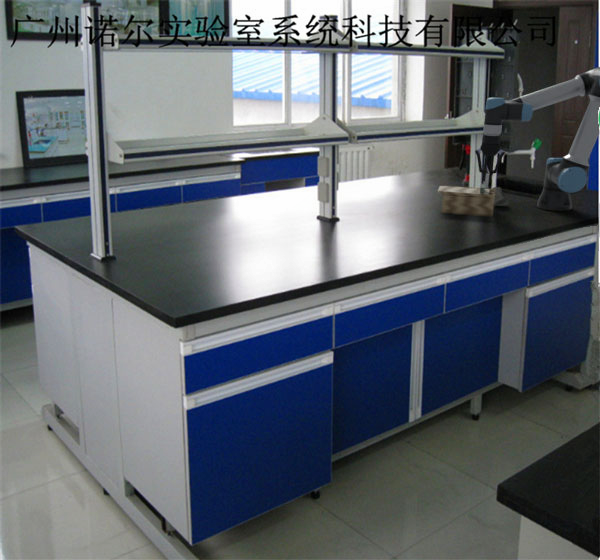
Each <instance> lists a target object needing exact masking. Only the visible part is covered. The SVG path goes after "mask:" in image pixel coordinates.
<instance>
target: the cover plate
mask: <svg viewBox="0 0 600 560" xmlns="http://www.w3.org/2000/svg"><path fill="white" fill-rule="evenodd" d="M448 186H449V185H439V188H438V189H437V192H436V193H437V194H439V195H443V191H446V192H460V193H474V194H488V195H489V190H490V189H491V188H488V189H484V187H485V183H481V184H480V187H479V188H480V189H477V188H478V187H472V188H463V187H464V186H457V187H448Z"/></svg>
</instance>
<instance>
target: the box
mask: <svg viewBox="0 0 600 560" xmlns="http://www.w3.org/2000/svg"><path fill="white" fill-rule="evenodd" d="M447 186H448V187H458V186H455V185H447ZM462 187H463V188H473V187H470V186H462ZM476 188H477V189H480V188H481V187H476ZM489 189H490V190H489V195H488V194H474V193H460V192H446V191H443V194H442V201H441V214H450V213H452V215H464V216H475V217H476V216H477V217H491V218H493V216H494V207H495V206H494V199H495V193H493V192H495V189H491V188H489Z"/></svg>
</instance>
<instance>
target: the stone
mask: <svg viewBox="0 0 600 560" xmlns="http://www.w3.org/2000/svg"><path fill="white" fill-rule="evenodd" d="M490 189H495V192H493V193H495V199H494V207H506V206H507V205H508V204H509V203H510V202H509V200H508V197H507V196H506V193H504V192H503V190H502V187H501V186H499V187H498V186H494V187H491V188H490Z"/></svg>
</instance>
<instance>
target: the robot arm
mask: <svg viewBox="0 0 600 560" xmlns="http://www.w3.org/2000/svg"><path fill="white" fill-rule="evenodd" d="M578 96H580V97H585V96H588V97H589V102H588V103H589V104H588V105H587V108H586V110H585V112H584V115H583V118H582V120H581V123H580V124H579V126H578V129H577V131H576V134H575V137H574V139H573V142H572V144H571V146H570V149H569V151H568V153H567V154H566V155H564V156H563V157H549V158H547V159H546V164H545V169H544V171H545V172H544V179H543V187H542V188H543V189H542V191H541V194H540V195H539V198H538V200H537V201H536V202H537V204H536V207H537V208H539V209H543V210H548V211H554V212H567V211H571V210H572V208H573V203H572V198H571V197H572V196H571V194H573V193H574V194H575V193H576V192H579V191H582V189H583V188H585V186H586V184H587V182H588V174H587V172H588V170H589V167H590V164H589V159H590V156H591V153H592V151H593V149H594V146H595V144H596V142H597V140H598V137H599V135H600V133H599V124H598V110H599V107H600V66H598V67H595V68H592V69H589V70H587V71H585V72H583V73H579V74H577V75H575V77H574V78H571V79H569V80H567V81H564V82H560V83H557V84H555V85H552V86H548V87H545V88H542V89H539V90H537V91H533V92H531V93H528V94H525V95H522V96H519V97H516V98H513V99H506V100H505V98H503V97H496V96H495V97H494V96H493V97H488V98H487V99H486V104H485V109H484V113H485V114H484V123H483V131H482V133H483V135H482V140H481V141H482V142H481V145H480V147H479V148H477V149H475V151H474V152H475V155H476V157H477V158H476V159H477V165H478V166H477V167H478V171H479V173H481V174H482V182H484V184H485V187H484V189H489V183H490V182H492V178H493V174H494V175H495V174H497V172H498V169H499V166H500V164H501V161H502V159H503V157H504V156H505V154H506V151H504V150H502V148H501V138H502V136H501V134H502V128H503V122H506V121H507V122H530V121H531V119H532V117H533V114H534V111H536V110H539V109H543V108H544V107H548V106H551V105H554V104H558V103H560V102H564V101H566V100H569V99H573V98H576V97H578ZM481 152H482V154H483V155H484V160H483V161H484V162H483V167H482V160H481ZM497 154H499V155H498V159H497V162H496V164H495V166H494V160H495V156H497ZM489 157H490V163H489V173H487V170H488V169H487V167H488V159H489ZM570 193H571V194H570Z"/></svg>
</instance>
